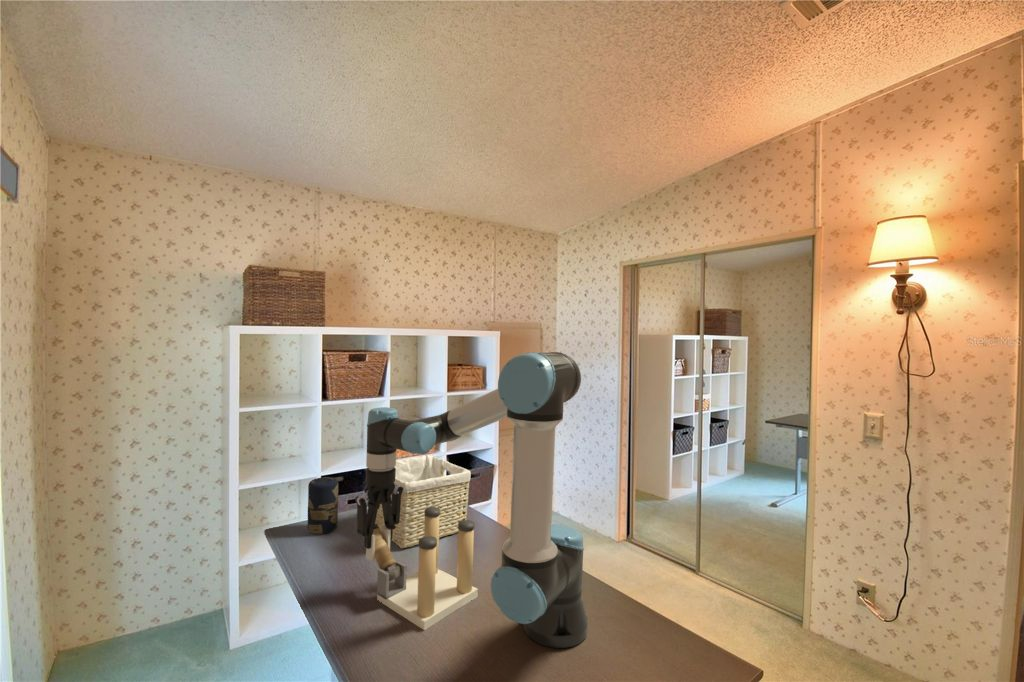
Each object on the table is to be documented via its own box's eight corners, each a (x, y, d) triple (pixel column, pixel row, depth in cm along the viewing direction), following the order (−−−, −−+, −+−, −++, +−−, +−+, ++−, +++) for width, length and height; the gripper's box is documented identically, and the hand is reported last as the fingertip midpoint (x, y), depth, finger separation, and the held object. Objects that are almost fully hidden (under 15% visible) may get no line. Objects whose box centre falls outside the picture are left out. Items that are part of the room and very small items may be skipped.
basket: (430, 507, 178) (432, 451, 178) (472, 530, 159) (474, 468, 158) (364, 525, 160) (366, 463, 160) (402, 554, 140) (404, 483, 140)
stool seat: (477, 596, 119) (480, 523, 118) (422, 631, 104) (424, 548, 104) (431, 572, 130) (433, 505, 130) (375, 601, 115) (377, 525, 115)
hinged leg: (397, 579, 118) (404, 571, 116) (383, 586, 115) (391, 577, 113) (373, 530, 125) (380, 522, 123) (360, 535, 121) (366, 526, 120)
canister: (330, 536, 150) (331, 482, 150) (301, 535, 150) (303, 481, 150) (341, 524, 160) (343, 473, 159) (314, 523, 160) (316, 472, 160)
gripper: (398, 458, 128) (395, 540, 129) (343, 471, 115) (340, 563, 115) (416, 463, 124) (413, 549, 124) (360, 478, 110) (357, 573, 111)
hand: (378, 555), depth 120 cm, fingers closed on hinged leg, 4 cm apart
